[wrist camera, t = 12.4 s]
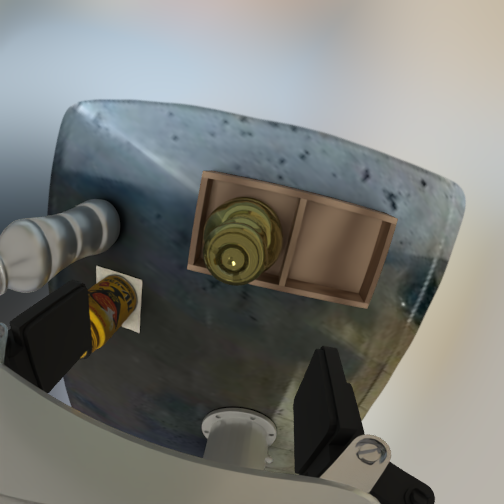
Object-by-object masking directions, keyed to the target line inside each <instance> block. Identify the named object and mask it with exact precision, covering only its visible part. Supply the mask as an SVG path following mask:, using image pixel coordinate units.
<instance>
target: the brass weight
mask: <svg viewBox="0 0 504 504" xmlns="http://www.w3.org/2000/svg"><path fill="white" fill-rule="evenodd" d="M203 244H204V247H203V259H204V263H205V265H206V267H207V269H208V271H209V272H210V273H211V274H212V275H213V276H214V277H215V278H216V279H217V280H219V281H221V282H223V283H225V284H229V285H245V284H248V283H250V282H252V281H254V280H255V279H257V278H258V277H259V276H260V275H261V274H262V273H263V272H265V271H267V270H268V269H269V268H270V267H272V265H273V264H274V263H275V262H276V261H277V259H278V257H279V255H280V253H281V250H282V245H283V233H282V226H281V223H280V219H279V217H278V215H277V213H276V212H275V210H274V209H273V208H272V207H271V206H270V205H269V204H268V203H267V202H265V201H263V200H261V199H259V198H256V197H252V196H240V197H236V198H233V199H230V200H228V201H226V202H224V203H223V204H221V205H220V206H218V207H217V208H216V209H215V210H214V211H213V212H212V213H211V214H210V215H209V217H208V219H207V221H206V223H205V226H204V230H203Z"/></svg>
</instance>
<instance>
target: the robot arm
mask: <svg viewBox="0 0 504 504" xmlns="http://www.w3.org/2000/svg"><path fill="white" fill-rule="evenodd" d="M10 326H11V329H10V330H8V328H7V326H6V325H5V324H3V323H0V504H434V502H435V497H434V493H433V491H432V489H431V488H430V487H429V486H428V485H426V484H425V483H423V482H421V481H420V480H418V479H416V478H415V477H413V476H411V475H410V474H408V473H406V472H405V471H403V470H402V469H400V468H399V467H397V466H395V465H394V464H392V463H391V462H389V461H390V459H391V450H390V448H389V446H388V445H387V443H386V442H385V441H384V440H382V439H381V438H379V437H376V436H374V435H365V434H364V430H363V426H362V422H361V418H360V414H359V410H358V407H357V403H356V399H355V396H354V392H353V388H352V386H351V384H350V383H347V382H346V379H345V375H344V371H343V368H342V364H341V360H340V357H339V353H338V350H337V349H336V348H332V347H325V346H322V347H321V348H320V349H316V350H315V352H314V354H313V357H312V359H311V362H310V364H309V366H308V369H307V371H306V373H305V376H304V378H303V380H302V382H301V385H300V387H299V389H298V391H297V394H296V396H295V399H294V404H293V410H294V456H295V473H296V474H299V475H294V474H287V473H279V472H272V471H264V469H265V466H266V463H265V461H266V462H267V463H271V462H272V461H273V458H272V457H271V456H269V455H268V446H270V445H271V444H272V443H273V442H274V441H275V439H276V435H277V430H276V426H275V425H274V423H273V422H272V421H271V420H270V419H269V418H267V417H266V416H264V415H262V414H260V413H258V412H255V411H252V410H248V409H243V408H223V409H218V410H215V411H213V412H210V413H209V414H208V415H206V417H205V418H204V420H203V423H202V432H203V434H204V435H205V437H206V438H207V439H208V440H207V444H206V448H205V452H204V456H203V458H200V457H196V456H192V455H189V454H185V453H182V452H178V451H175V450H172V449H169V448H165V447H162V446H159V445H157V444H154V443H151V442H148V441H145V440H142V439H140V438H137V437H135V436H132V435H129V434H127V433H125V432H122V431H120V430H117V429H115V428H113V427H110V426H108V425H106V424H104V423H102V422H100V421H97V420H95V419H93V418H91V417H89V416H87V415H85V414H83V413H81V412H79V411H77V410H76V409H74V408H72V407H70V406H68V405H66V404H64V403H62V402H61V401H59V400H57V399H56V398H54V397H52V396H51V395H49V394H47V393H49V392H50V391H51V390H52V389H53V387H54V386H55V385H56V384H57V383H58V382H59V381H60V380H61V378H62V377H63V376H64V375H65V374H66V373H67V372H68V371H69V370H70V369H71V367H72V366H73V365H74V364H75V363H76V362H77V361H78V360H79V359H80V358H81V357H82V356H83V354H84V353H85V352H86V351H87V350H88V349H89V348H90V347H91V344H92V333H91V324H90V312H89V297H88V290H87V288H86V286H85V284H83V283H81V282H78V281H75V280H71V281H70V282H68V283H66V284H65V285H63V286H62V287H60V288H59V289H57V290H56V291H54V292H52V293H51V294H49V295H48V296H46V297H45V298H43V299H42V300H40V301H39V302H37V303H36V304H34V305H33V306H32V307H30V308H29V309H27V310H26V311H24V312H23V313H21V314H20V315H19V316H17V317H16V318H14V319H13V320H12V321H10Z"/></svg>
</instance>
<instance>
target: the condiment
mask: <svg viewBox="0 0 504 504" xmlns="http://www.w3.org/2000/svg"><path fill="white" fill-rule="evenodd" d="M96 274H97V279H96V281H97V284H95V285H94V286H93V287H91V288H90V289H89V290H88V297H89V312H90V324H91V333H92V344H91V347H90V348H89V349H88V350H87V351H86V352H85V353H84V354H83V356H82V357H81V358H80V359H79V360H82V359H87V358H88V357H89V356H90V354H91V353H92V352H94V351H95V350H96V349H98V348H100V347H101V346H103V345H104V344H105V343H106V341H108V339H110V338H111V337H112V335H113V334H114V333H115V332H116V331H117V330H118V328H119V327H121V326H123V327H125V328H127V329H130V330H133V331H135V332H138V333H140V311H141V295H142V280H140V279H137V278H134V277H131V276H128V275H125V274H122V273H119V272H115V271H112V270H109V269H105V268H102V267H99V266H96Z"/></svg>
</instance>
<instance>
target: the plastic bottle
mask: <svg viewBox="0 0 504 504" xmlns="http://www.w3.org/2000/svg"><path fill="white" fill-rule="evenodd" d="M119 233H120V218H119V215H118V213H117V211H116V209H115V208H114V206H113V205H112V204H111V203H109V202H108V201H106V200H102V199H91V200H87V201H85V202H83V203H81V204H80V205H78V206H76V207H75V208H72V209H70V210H68V211H65V212H63V213H60V214H56V215H50V216H46V217H37V218H27V219H20V220H16V221H14V222H12V223H11V224H10V225H9V226H7V227H6V228H5V229H4V231H3V233H2V234H1V236H0V295H2V294H3V293H5V292H6V290H7V288H9V289H12V290H15V291H19V292H25V293H26V292H33V291H36V290H38V289H40V288H41V287H42V286H44V285H45V284H46V283H47V282H48V281H49V280H50V279H51V278H53V277H54V276H55V275H56V274H57V273H58V272H59V271H61V270H62V269H64V268H65V267H67V266H68V265H70V264H71V263H73V262H75V261H76V260H79V259H81V258H84V257H86V256H89V255H96V254H99V253H102V252H104V251H106V250H107V249H109V248H110V247H111V246H112V245H113V244H114V243H115V242H116V240H117V238H118V236H119Z"/></svg>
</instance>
